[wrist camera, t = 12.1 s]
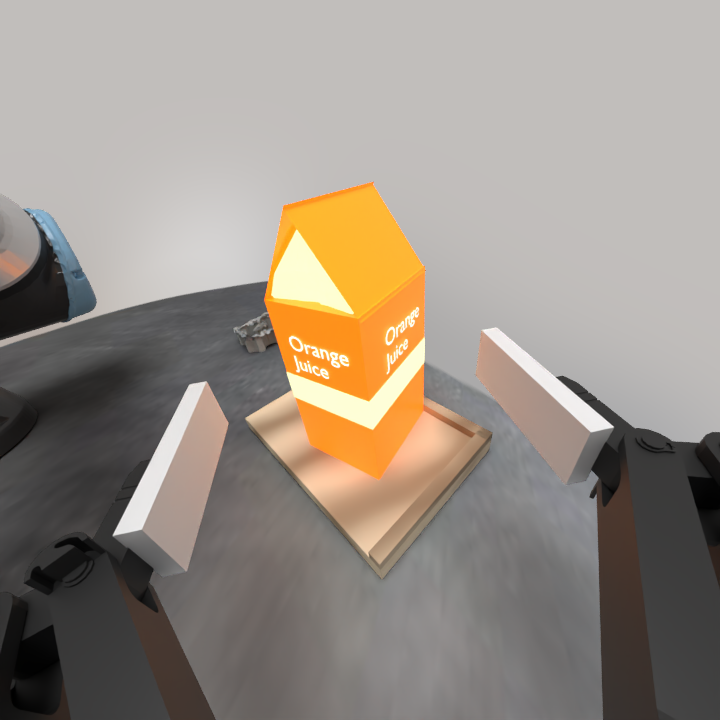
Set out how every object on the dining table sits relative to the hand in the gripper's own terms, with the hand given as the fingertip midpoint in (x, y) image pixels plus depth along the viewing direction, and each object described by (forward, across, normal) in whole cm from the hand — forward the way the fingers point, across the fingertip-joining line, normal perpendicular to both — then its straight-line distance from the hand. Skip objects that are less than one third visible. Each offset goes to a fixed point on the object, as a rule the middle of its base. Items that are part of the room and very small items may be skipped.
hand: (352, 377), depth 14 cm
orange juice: (+8, +1, -13) cm, 16 cm away
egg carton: (+34, -10, -15) cm, 38 cm away
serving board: (+9, 0, -14) cm, 17 cm away
